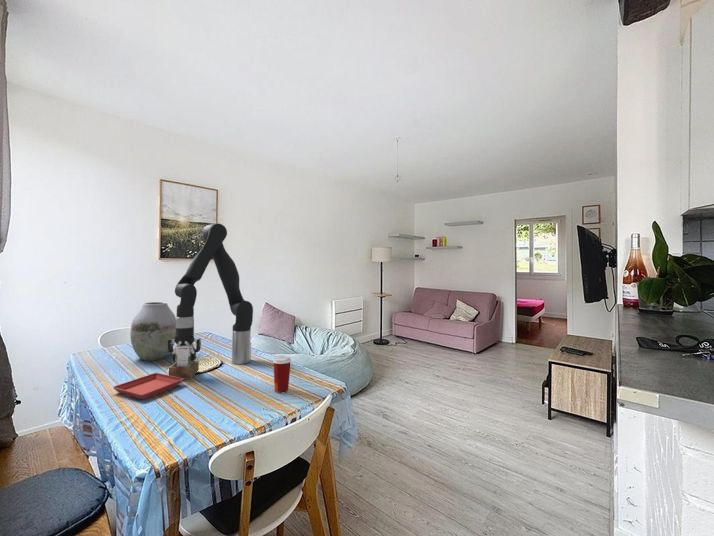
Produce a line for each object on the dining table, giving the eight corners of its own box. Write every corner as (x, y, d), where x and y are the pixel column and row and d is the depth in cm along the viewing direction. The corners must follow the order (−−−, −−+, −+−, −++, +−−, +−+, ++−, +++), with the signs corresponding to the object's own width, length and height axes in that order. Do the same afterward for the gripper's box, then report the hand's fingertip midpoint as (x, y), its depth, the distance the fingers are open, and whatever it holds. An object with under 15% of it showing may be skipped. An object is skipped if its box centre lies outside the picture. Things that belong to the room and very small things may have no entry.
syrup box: (180, 373, 146) (181, 343, 146) (193, 373, 147) (193, 343, 146) (174, 377, 140) (174, 346, 140) (187, 377, 141) (188, 346, 141)
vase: (184, 356, 172) (185, 302, 171) (141, 366, 154) (142, 306, 153) (164, 349, 183) (165, 299, 183) (122, 358, 165) (123, 303, 165)
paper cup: (294, 388, 132) (294, 356, 132) (284, 395, 125) (285, 361, 125) (278, 385, 135) (279, 354, 134) (268, 392, 127) (268, 359, 127)
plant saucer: (111, 394, 122) (111, 386, 122) (155, 379, 139) (155, 371, 139) (141, 403, 116) (141, 394, 116) (184, 386, 132) (184, 378, 132)
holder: (198, 371, 149) (198, 360, 149) (191, 378, 140) (191, 366, 140) (177, 372, 147) (177, 360, 147) (168, 379, 138) (168, 367, 138)
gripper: (204, 324, 148) (203, 358, 148) (171, 324, 146) (171, 359, 146) (198, 327, 141) (198, 363, 141) (164, 327, 138) (164, 364, 138)
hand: (184, 361), depth 143 cm, fingers open, 7 cm apart
